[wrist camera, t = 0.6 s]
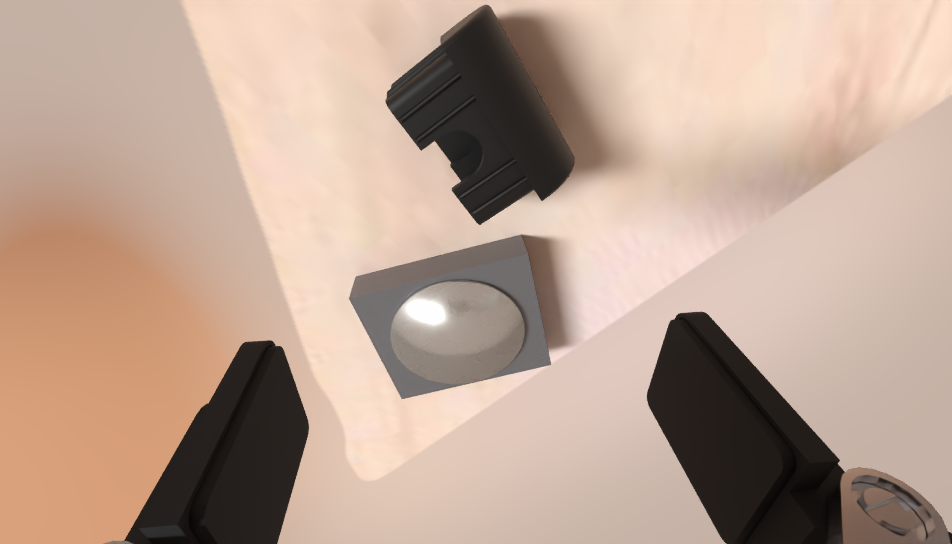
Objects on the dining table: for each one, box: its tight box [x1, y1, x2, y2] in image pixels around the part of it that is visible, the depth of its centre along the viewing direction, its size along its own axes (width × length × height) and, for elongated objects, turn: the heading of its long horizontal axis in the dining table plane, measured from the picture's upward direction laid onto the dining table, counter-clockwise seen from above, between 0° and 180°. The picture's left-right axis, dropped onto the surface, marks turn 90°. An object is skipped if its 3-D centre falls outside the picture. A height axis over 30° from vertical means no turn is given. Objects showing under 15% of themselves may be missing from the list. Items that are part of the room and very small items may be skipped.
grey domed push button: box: [349, 235, 551, 399], centre depth 35 cm, size 14×12×3 cm
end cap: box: [386, 5, 574, 225], centre depth 25 cm, size 10×7×7 cm
